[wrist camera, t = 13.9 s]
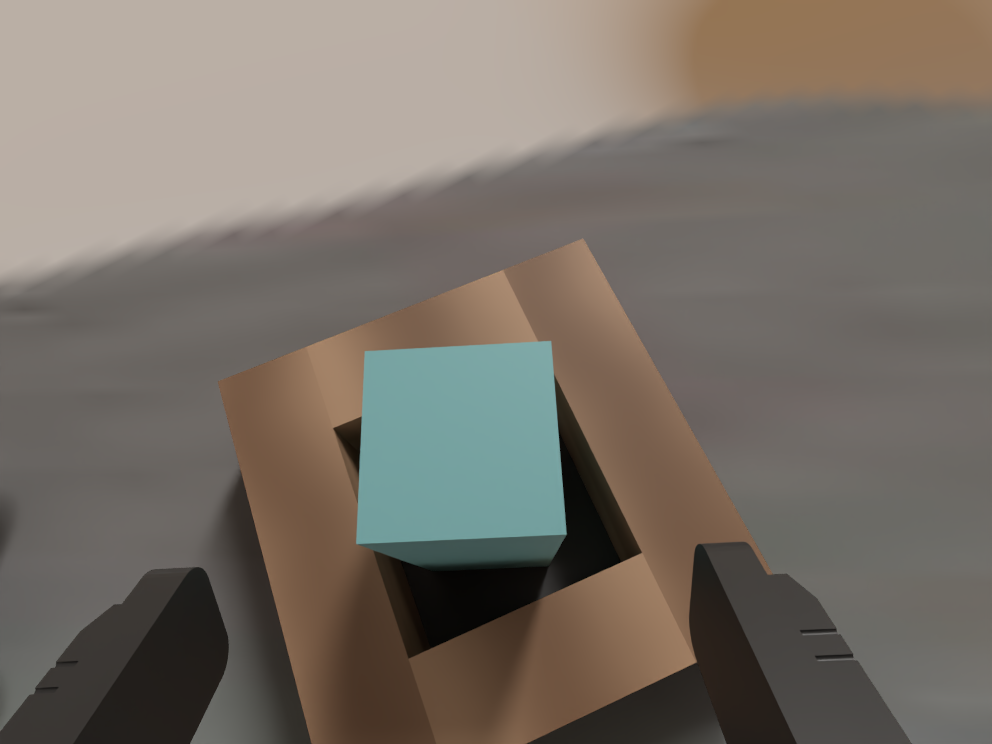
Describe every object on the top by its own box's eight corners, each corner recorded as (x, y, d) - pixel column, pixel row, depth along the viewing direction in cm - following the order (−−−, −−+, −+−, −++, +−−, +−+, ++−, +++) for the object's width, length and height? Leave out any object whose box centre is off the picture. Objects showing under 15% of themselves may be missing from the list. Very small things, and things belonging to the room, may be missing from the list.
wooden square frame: (574, 294, 24) (583, 238, 21) (745, 613, 20) (795, 614, 16) (267, 417, 23) (217, 381, 19) (373, 788, 18) (335, 835, 15)
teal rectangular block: (540, 452, 22) (550, 340, 13) (548, 566, 21) (566, 534, 11) (432, 457, 22) (364, 351, 13) (432, 571, 21) (355, 544, 11)
